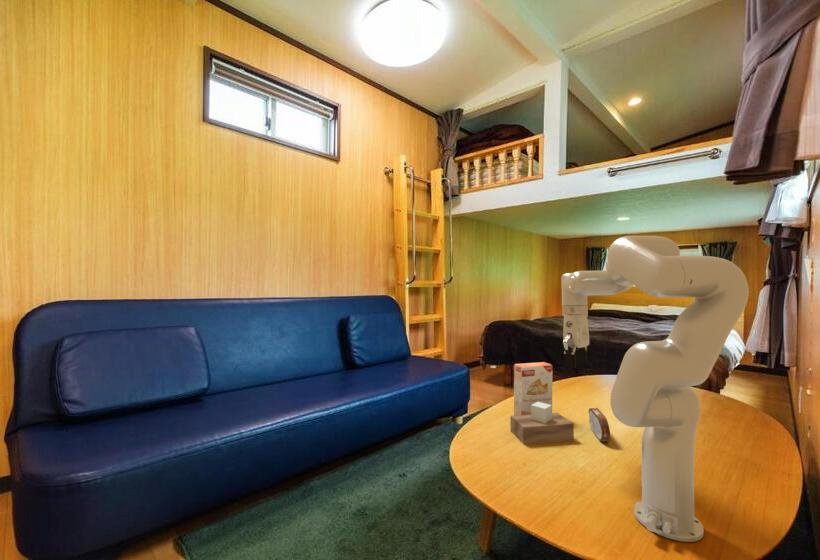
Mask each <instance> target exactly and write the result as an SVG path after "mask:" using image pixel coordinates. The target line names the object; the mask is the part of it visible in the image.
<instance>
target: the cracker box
mask: <svg viewBox="0 0 820 560" xmlns="http://www.w3.org/2000/svg"><path fill="white" fill-rule="evenodd" d="M513 365H514V367H513V369H514V370H513V371H514V372H513V373H514V376H513V377H514V378H513V379H514V381H513V382H514V383H513V386H514V387H513V416H514V415H529V414H531V405H532V404H534V403H536V402H541V403H545V404H549V405H552V406H553V368H554V367H553V365H552V364H551V363H547V362H545V361H542V362H541V361H540V362H539V361H538V362H526V363H515V364H513Z"/></svg>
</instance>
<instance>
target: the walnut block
mask: <svg viewBox="0 0 820 560" xmlns="http://www.w3.org/2000/svg"><path fill="white" fill-rule="evenodd" d="M574 426H575V425H574V423H573V422H572V421H571V420H569V419H567V418H566V417H565V416H563V415H562V414H560V413H559V412H552V419H551V420H550V421H548V422H547V423H541V422H538V421H535V420H532V419H531V414H529V415H514V414H513V415H510V433H512V434H513V435H514V436H515V437H516V438H517V439H518V440H519V441H520V443H522V444H523V445H530V444H532V443H533V444H543V443H545V444H546V443H555V442H557V443H558V442H559V443H560V442H569V441H571V440H572V441H574V440H575V439H574V435H575V434H574V433H575V432H574V431H575V430H574Z"/></svg>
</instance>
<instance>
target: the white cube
mask: <svg viewBox="0 0 820 560" xmlns="http://www.w3.org/2000/svg"><path fill="white" fill-rule="evenodd" d="M552 413H553V404H552V405H549V404H545V403H541V402H536V403H534V404H532V405H531V419H532V420H535V421H538V422H541V423H547V422H548V421H550V420H551V419H552Z"/></svg>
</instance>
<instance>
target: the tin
mask: <svg viewBox="0 0 820 560" xmlns="http://www.w3.org/2000/svg"><path fill="white" fill-rule="evenodd" d="M588 418H589V420H588V422H589V426H590V429H591V431H592V432H593V434H594V435H595V437H596V438H597V439H598V441H599V442H607V443H609V442H610V441H611V430H610V424H609V422H608V420H607V419H608V418H607V417H606V416H605V414H604V413H603V412H602V411H601V410H600V409H599V407H591V408H589V409H588Z"/></svg>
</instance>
